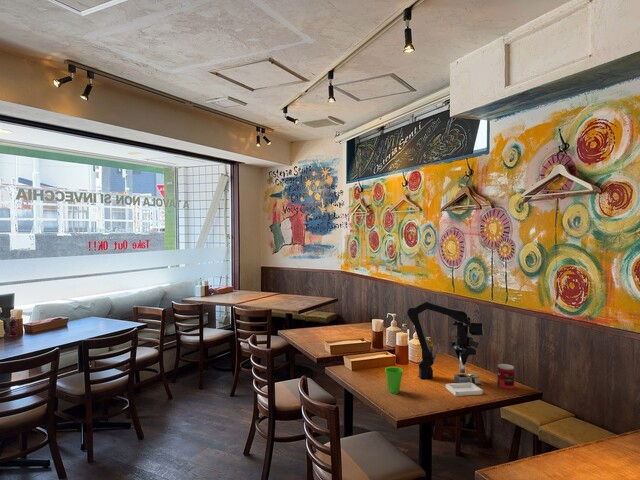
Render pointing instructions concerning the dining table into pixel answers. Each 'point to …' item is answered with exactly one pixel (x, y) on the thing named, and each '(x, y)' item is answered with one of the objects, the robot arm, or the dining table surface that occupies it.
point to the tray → (464, 389)
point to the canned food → (505, 376)
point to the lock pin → (461, 366)
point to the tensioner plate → (467, 378)
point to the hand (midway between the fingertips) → (462, 364)
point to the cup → (394, 379)
